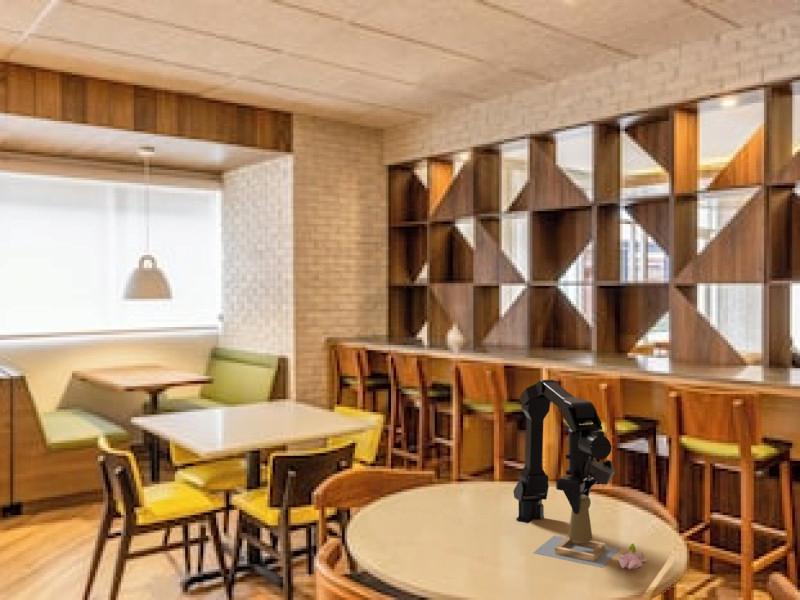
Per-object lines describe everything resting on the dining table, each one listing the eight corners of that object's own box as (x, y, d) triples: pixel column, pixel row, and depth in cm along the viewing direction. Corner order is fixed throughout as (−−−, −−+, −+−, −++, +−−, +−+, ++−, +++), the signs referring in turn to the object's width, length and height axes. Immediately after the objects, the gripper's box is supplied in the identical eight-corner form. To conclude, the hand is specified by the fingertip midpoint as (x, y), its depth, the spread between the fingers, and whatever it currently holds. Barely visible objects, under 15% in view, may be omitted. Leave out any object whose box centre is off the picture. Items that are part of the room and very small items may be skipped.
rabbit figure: (623, 562, 175) (612, 573, 162) (624, 537, 176) (612, 547, 163) (649, 566, 172) (639, 577, 159) (649, 541, 173) (640, 551, 160)
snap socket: (554, 553, 175) (554, 547, 175) (568, 541, 183) (568, 536, 183) (593, 561, 169) (593, 555, 169) (605, 549, 177) (605, 543, 177)
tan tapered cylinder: (593, 542, 173) (593, 499, 172) (568, 541, 174) (568, 498, 174) (591, 534, 178) (591, 492, 178) (567, 532, 180) (567, 491, 180)
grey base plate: (532, 556, 175) (532, 552, 175) (554, 539, 188) (554, 535, 188) (602, 571, 165) (602, 567, 165) (620, 552, 178) (620, 548, 178)
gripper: (599, 462, 164) (599, 527, 164) (621, 447, 179) (621, 506, 179) (555, 456, 170) (555, 518, 170) (580, 442, 185) (580, 499, 186)
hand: (580, 510), depth 176 cm, fingers closed on tan tapered cylinder, 5 cm apart
